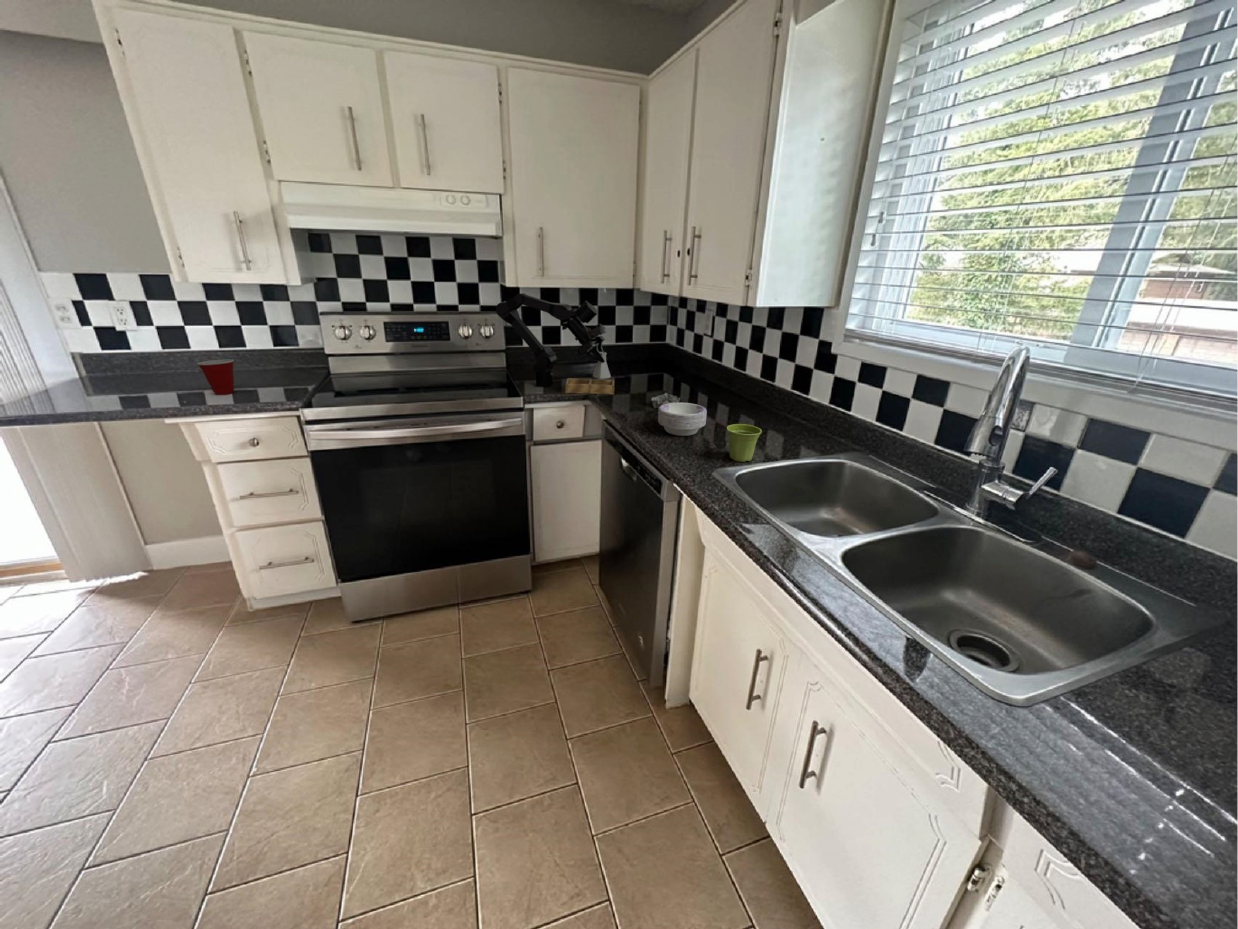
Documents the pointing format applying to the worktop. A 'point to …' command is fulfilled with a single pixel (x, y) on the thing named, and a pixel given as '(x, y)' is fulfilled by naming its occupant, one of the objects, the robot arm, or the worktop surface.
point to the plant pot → (742, 441)
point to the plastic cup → (219, 375)
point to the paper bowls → (682, 418)
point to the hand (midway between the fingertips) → (605, 361)
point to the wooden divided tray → (589, 386)
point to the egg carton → (664, 400)
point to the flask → (602, 368)
